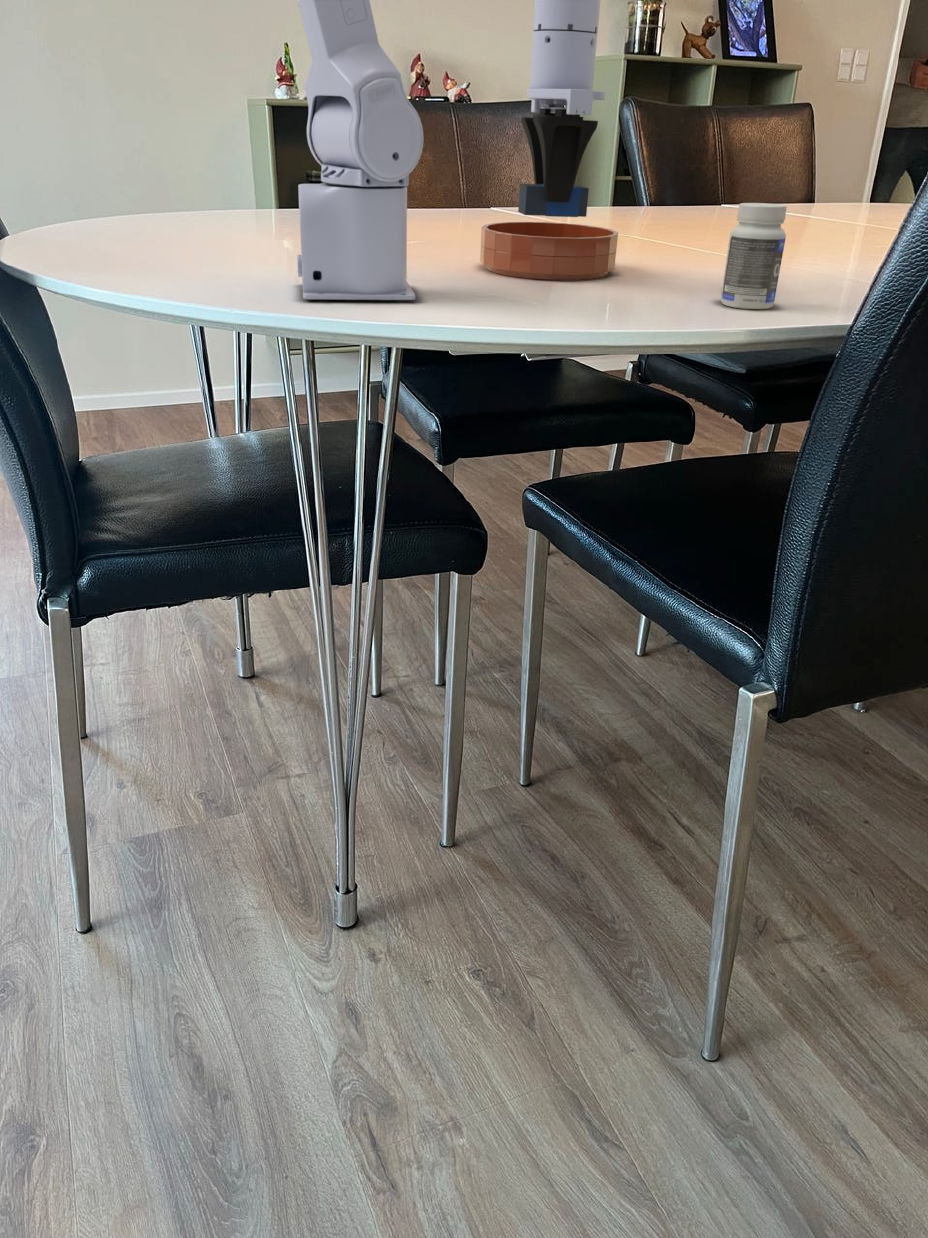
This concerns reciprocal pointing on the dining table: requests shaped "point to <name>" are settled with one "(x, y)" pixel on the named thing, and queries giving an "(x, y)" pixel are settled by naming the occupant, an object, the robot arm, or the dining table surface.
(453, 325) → the dining table surface
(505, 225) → the bowl
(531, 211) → the eraser
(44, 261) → the dining table surface
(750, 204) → the pill bottle
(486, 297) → the dining table surface
